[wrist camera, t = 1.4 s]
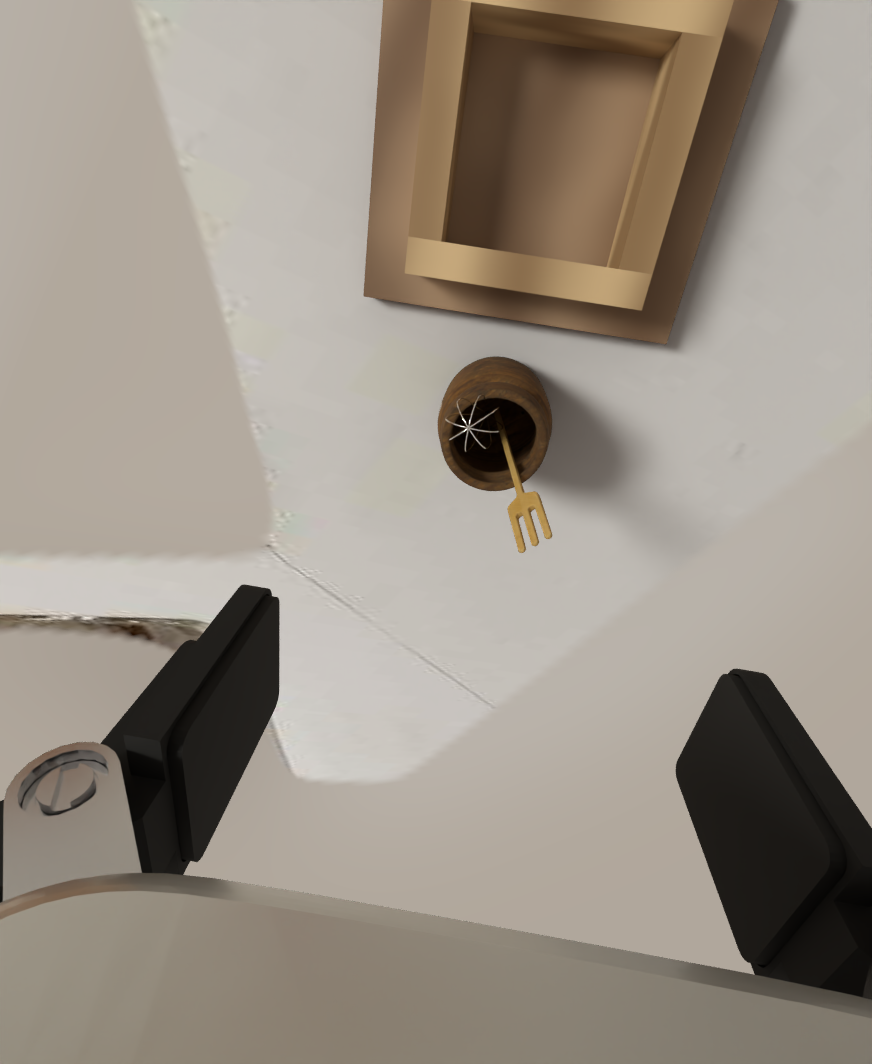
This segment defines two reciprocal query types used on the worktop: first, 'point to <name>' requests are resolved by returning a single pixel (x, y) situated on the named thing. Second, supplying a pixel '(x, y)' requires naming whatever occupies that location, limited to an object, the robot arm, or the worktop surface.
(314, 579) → the worktop surface
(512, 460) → the utensil holder
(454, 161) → the socket board
